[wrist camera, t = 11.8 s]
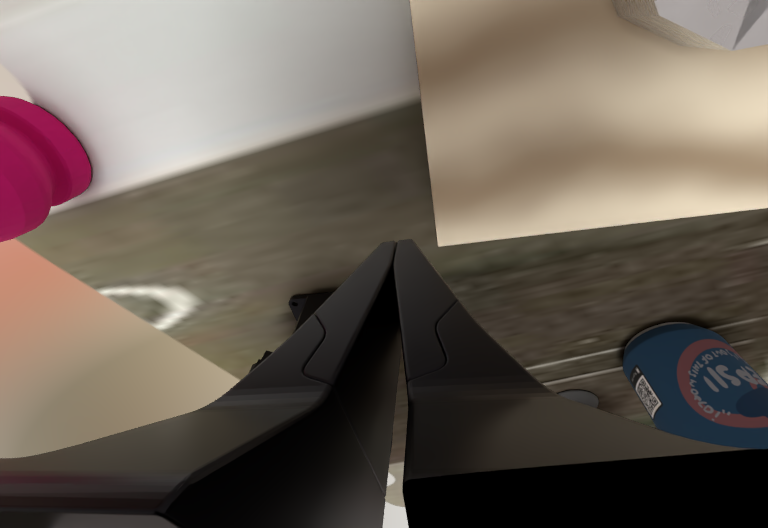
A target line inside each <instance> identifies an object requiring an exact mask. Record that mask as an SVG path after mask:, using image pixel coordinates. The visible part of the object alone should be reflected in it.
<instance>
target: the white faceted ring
mask: <svg viewBox="0 0 768 528" xmlns="http://www.w3.org/2000/svg"><path fill="white" fill-rule="evenodd" d="M612 3H613V6H614V8H615V11H616V13H617V16H618V17H621V18H623V19H625V20H627V21H629V22H631V23H633V24H635V25H637V26H639V27H641V28H643V29H646V30H648V31H650V32H652V33H654V34H656V35H658V36H660V37H662V38H664V39H666V40H668V41H671V42H673V43H675V44H677V45H679V46H687V47H697V48H707V49H717V50H727V51H735V50H740V49H745V48H751V47H756V46H761V45H766V44H768V0H612Z"/></svg>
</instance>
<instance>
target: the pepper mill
mask: <svg viewBox="0 0 768 528" xmlns="http://www.w3.org/2000/svg"><path fill="white" fill-rule="evenodd" d="M90 181H91V166H90V163H89V160H88V157H87V155H86V153H85V151H84V149H83V148H82V146H81V144H80V143H79V141H78V140H77V139H76V137H75V136H74V135H73V134H72V133H71V132H70V131H69V130H68V129H67V127H66V126H65V125H64V124H62V123H61V122H60V121H59V120H58V119H57V118H55V117H54V116H53V115H51V114H50V113H48V112H46V111H45V110H43V109H42V108H40V107H39V106H37V105H34V104H32V103H30V102H27V101H24V100H22V99H19V98H15V97H7V96H0V242H3V241H6V240H10V239H13V238H15V237H18V236H20V235H22V234H24V233H27V232H29V231H31V230H33V229H35V228H37V227H38V226H39V225H40V224H42V223H43V222H44V220H45V219H46V217H47V216H48V214H49V211H50V208H51V206H57V205H60V204H62V203H64V202H66V201H68V200H70V199H72V198H74V197H76V196H78V195H80V194H81V193H83V192H84V191H85V190H86V189H87V187H88V186H89V184H90Z"/></svg>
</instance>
